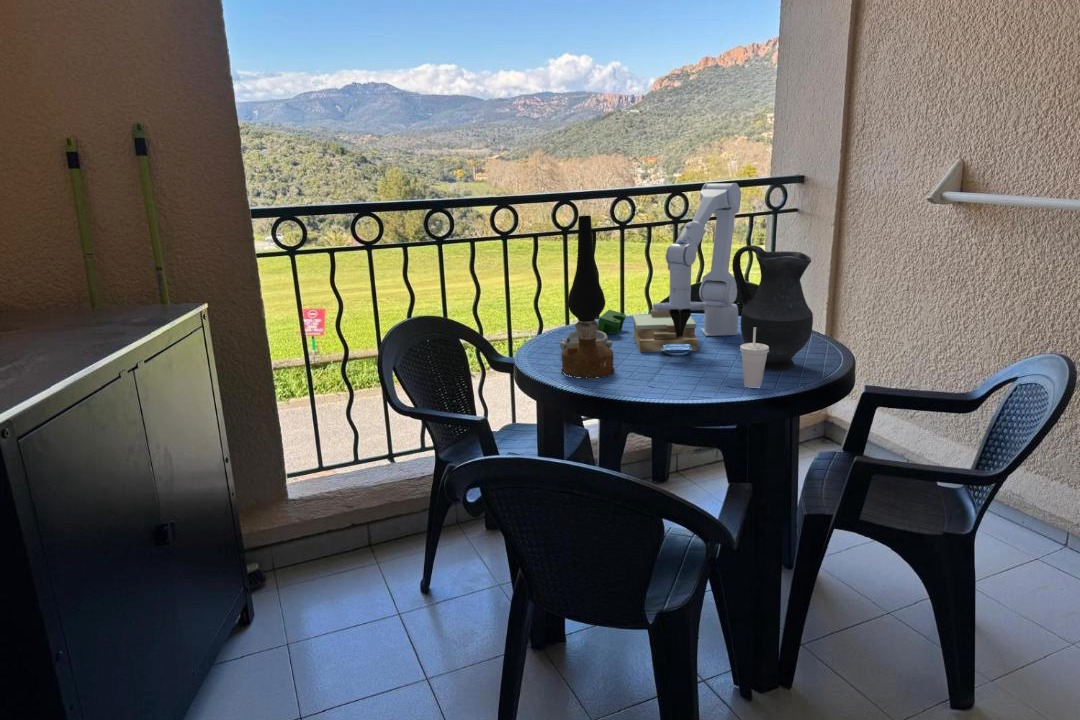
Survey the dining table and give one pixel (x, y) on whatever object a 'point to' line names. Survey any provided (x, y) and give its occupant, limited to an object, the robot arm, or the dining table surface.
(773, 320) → the pitcher
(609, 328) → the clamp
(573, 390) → the dining table surface
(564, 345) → the dish
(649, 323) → the lid
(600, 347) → the oil lamp
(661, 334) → the wooden block
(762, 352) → the smoothie
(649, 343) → the tan shallow box
